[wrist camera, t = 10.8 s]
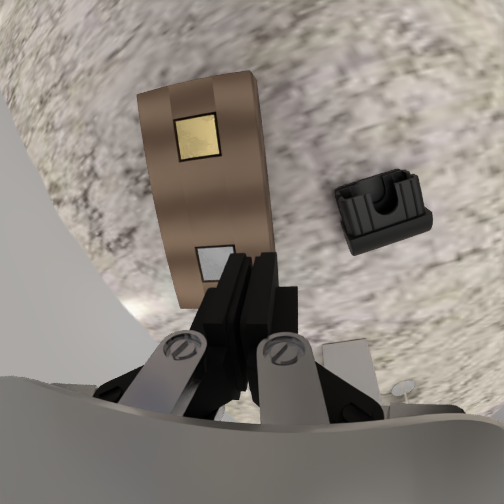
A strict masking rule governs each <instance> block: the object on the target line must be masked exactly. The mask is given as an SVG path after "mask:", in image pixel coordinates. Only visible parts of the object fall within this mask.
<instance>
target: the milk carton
mask: <svg viewBox="0 0 504 504" xmlns="http://www.w3.org/2000/svg"><path fill="white" fill-rule="evenodd" d="M322 350H323V362H324V367H325V368H326V369H328V370H329V371H331V372H332V373H334V374H335V375H337V376H338V377H340V378H341V379H343V380H344V381H346V382H347V383H349V384H351V385H352V386H354V387H355V388H357V389H358V390H360V391H362V392H363V393H365V394H366V395H368V396H370V397H371V398H373V399H374V400H375V401H376V402H378V403H379V404H380V405H382V400H381V396H380V391H379V387H378V383H377V378H376V374H375V370H374V366H373V362H372V358H371V355H370V351H369V347H368V343H367V340H366V339H361V340H354V341H348V342H341V343H333V344H326V345H323V346H322ZM382 406H383V405H382Z"/></svg>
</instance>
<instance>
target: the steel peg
mask: <svg viewBox="0 0 504 504" xmlns="http://www.w3.org/2000/svg"><path fill="white" fill-rule="evenodd" d="M230 253H236V249H235V244H230V245H214V246H199V247H198V254H199V259H200V264H201V268H202V273H203V278H204V280H220V277H221V275H222V272H223V270H224V267H225V265H226V262H227V260H228V257H229V255H230Z"/></svg>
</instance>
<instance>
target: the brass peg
mask: <svg viewBox="0 0 504 504" xmlns="http://www.w3.org/2000/svg"><path fill="white" fill-rule="evenodd" d="M176 127H177V134H178V141H179V148H180V154H181V159H186V158H193V157H199V156H206V155H213V154H219V153H222V151H221V144H220V136H219V129H218V121H217V115H209V116H203V117H198V118H192V119H187V120H182V121H177V122H176Z"/></svg>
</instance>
